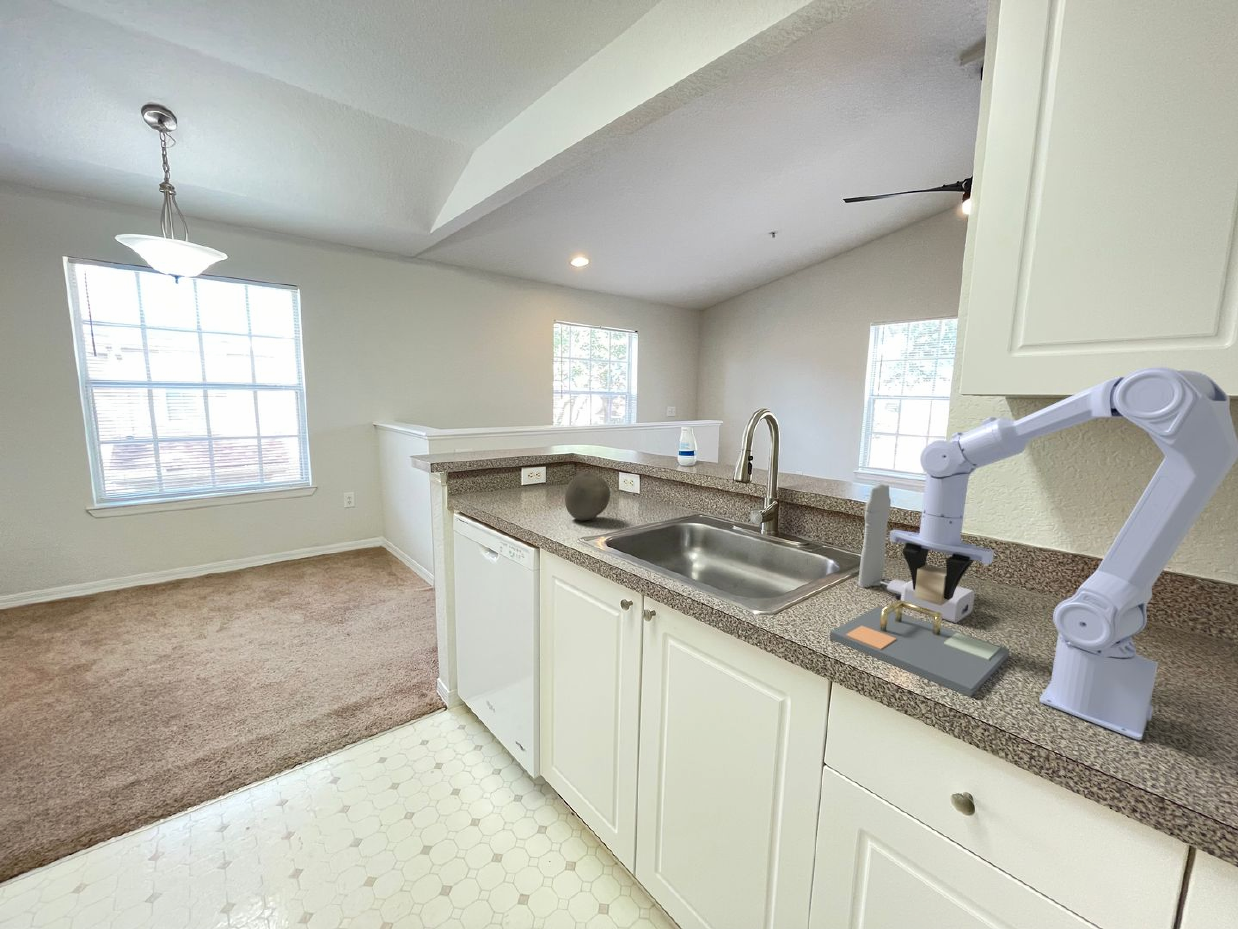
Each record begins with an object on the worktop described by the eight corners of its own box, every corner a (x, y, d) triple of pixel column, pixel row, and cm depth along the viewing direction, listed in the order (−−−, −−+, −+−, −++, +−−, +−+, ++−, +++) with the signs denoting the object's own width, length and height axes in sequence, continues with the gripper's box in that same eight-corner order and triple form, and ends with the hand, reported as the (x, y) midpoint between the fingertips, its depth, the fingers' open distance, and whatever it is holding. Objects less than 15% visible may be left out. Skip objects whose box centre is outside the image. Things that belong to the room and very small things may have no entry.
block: (950, 599, 82) (953, 571, 81) (941, 605, 79) (944, 576, 79) (923, 592, 85) (927, 564, 84) (914, 597, 83) (917, 568, 82)
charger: (891, 587, 106) (972, 612, 94) (870, 597, 101) (954, 625, 89) (893, 566, 106) (975, 589, 94) (872, 575, 100) (957, 600, 88)
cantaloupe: (567, 526, 148) (568, 477, 146) (561, 515, 161) (562, 470, 159) (613, 525, 151) (614, 477, 149) (603, 514, 165) (604, 470, 162)
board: (1008, 656, 78) (1009, 648, 78) (970, 697, 67) (971, 687, 66) (878, 611, 93) (879, 604, 93) (829, 638, 82) (830, 630, 82)
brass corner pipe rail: (940, 634, 82) (943, 612, 81) (924, 646, 78) (926, 624, 77) (896, 619, 87) (898, 598, 87) (878, 629, 83) (880, 608, 83)
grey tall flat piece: (869, 591, 103) (879, 488, 100) (850, 585, 106) (859, 485, 103) (890, 580, 110) (900, 483, 107) (871, 574, 113) (881, 480, 110)
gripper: (1004, 520, 77) (992, 602, 79) (905, 503, 88) (897, 575, 90) (989, 526, 73) (978, 613, 75) (887, 507, 84) (879, 583, 86)
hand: (932, 593), depth 82 cm, fingers closed on block, 4 cm apart
